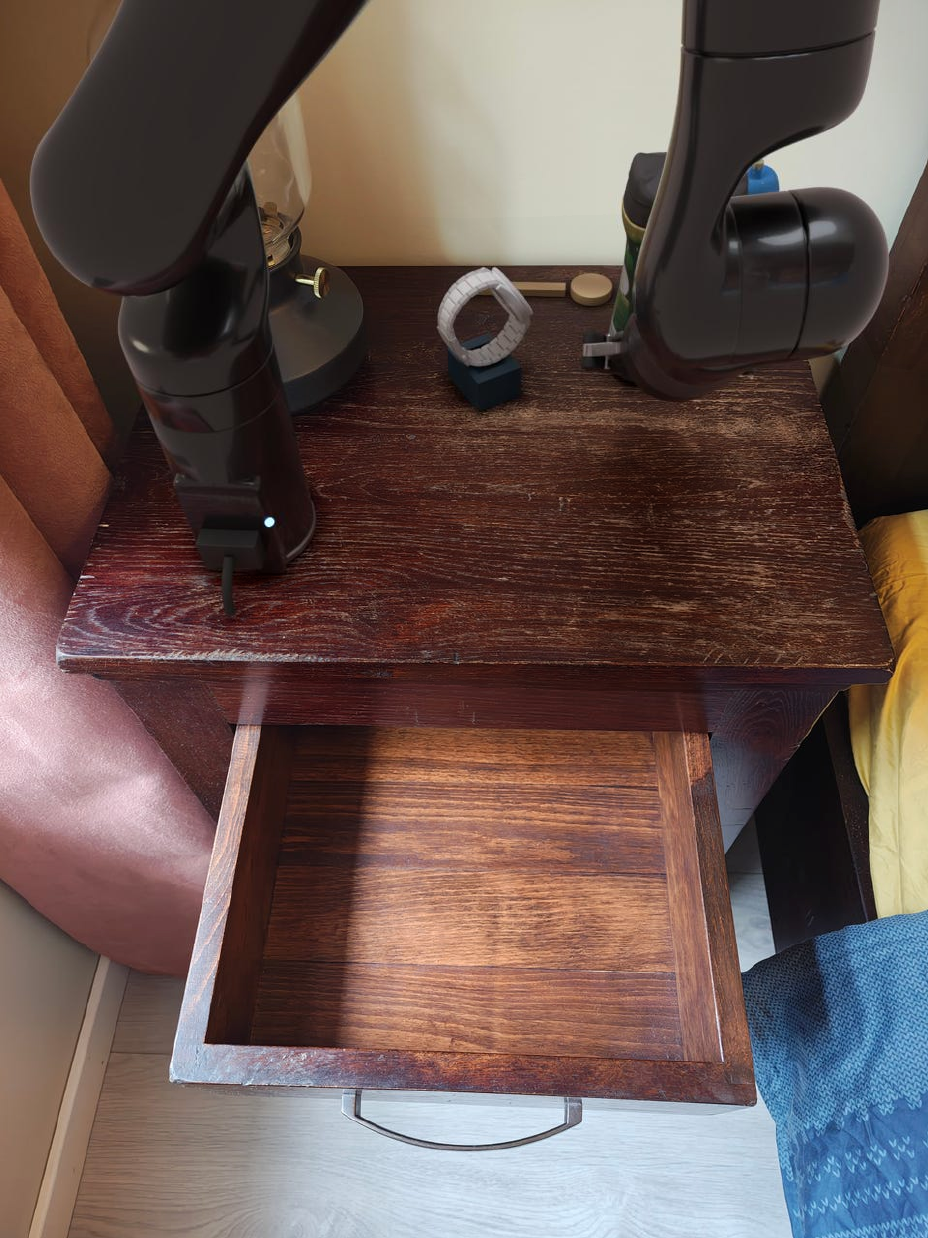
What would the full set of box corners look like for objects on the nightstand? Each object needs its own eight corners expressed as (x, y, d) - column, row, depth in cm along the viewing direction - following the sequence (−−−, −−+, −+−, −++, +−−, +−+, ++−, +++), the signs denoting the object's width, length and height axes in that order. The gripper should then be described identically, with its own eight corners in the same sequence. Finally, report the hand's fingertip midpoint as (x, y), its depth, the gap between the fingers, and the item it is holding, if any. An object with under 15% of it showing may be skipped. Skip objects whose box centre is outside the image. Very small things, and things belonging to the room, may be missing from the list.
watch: (539, 387, 82) (545, 278, 73) (461, 419, 79) (456, 310, 71) (507, 353, 84) (509, 244, 76) (431, 382, 82) (423, 274, 73)
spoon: (611, 306, 88) (612, 297, 87) (472, 303, 89) (472, 294, 88) (610, 282, 90) (611, 273, 90) (475, 279, 91) (475, 270, 91)
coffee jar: (704, 331, 86) (748, 129, 70) (717, 387, 81) (767, 183, 66) (600, 333, 86) (622, 133, 71) (608, 389, 81) (633, 187, 66)
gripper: (804, 274, 56) (739, 320, 73) (586, 269, 56) (572, 316, 73) (793, 400, 57) (731, 417, 74) (579, 394, 58) (567, 412, 75)
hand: (652, 367), depth 74 cm, fingers closed
